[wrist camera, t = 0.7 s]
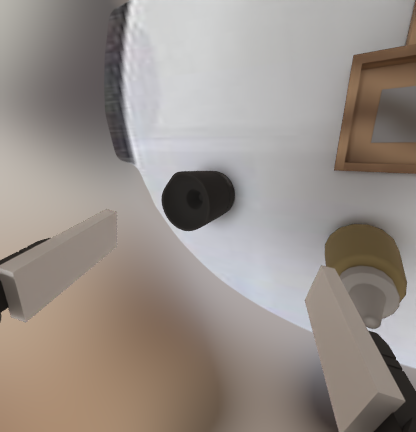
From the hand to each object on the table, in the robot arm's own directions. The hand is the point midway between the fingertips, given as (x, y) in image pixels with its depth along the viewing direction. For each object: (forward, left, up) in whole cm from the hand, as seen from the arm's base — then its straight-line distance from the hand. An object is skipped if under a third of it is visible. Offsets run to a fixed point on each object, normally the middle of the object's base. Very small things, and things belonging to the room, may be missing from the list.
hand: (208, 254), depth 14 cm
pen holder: (+1, -14, -26) cm, 29 cm away
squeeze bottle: (+6, +10, -26) cm, 28 cm away
